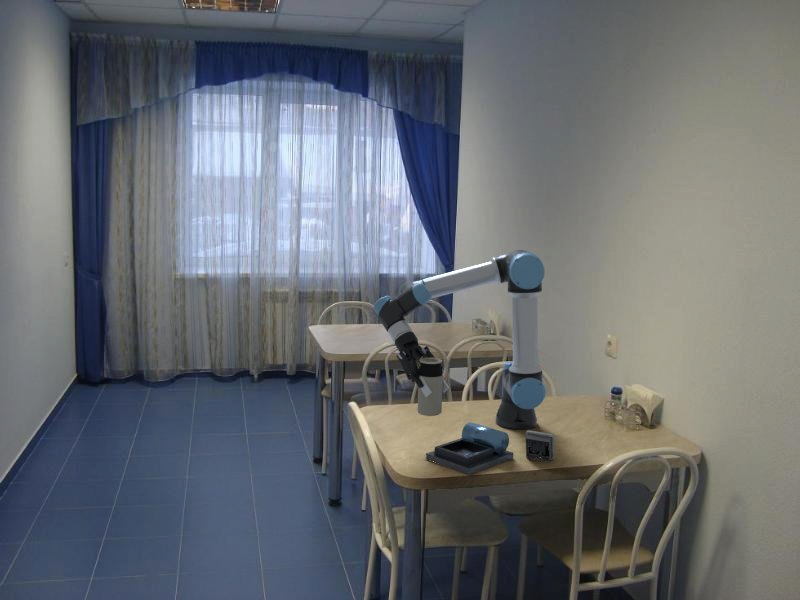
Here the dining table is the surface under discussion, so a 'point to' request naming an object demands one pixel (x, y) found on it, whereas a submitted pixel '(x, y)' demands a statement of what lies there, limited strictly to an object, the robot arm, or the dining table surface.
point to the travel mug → (431, 387)
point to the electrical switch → (540, 446)
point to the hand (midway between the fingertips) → (437, 392)
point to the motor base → (473, 450)
